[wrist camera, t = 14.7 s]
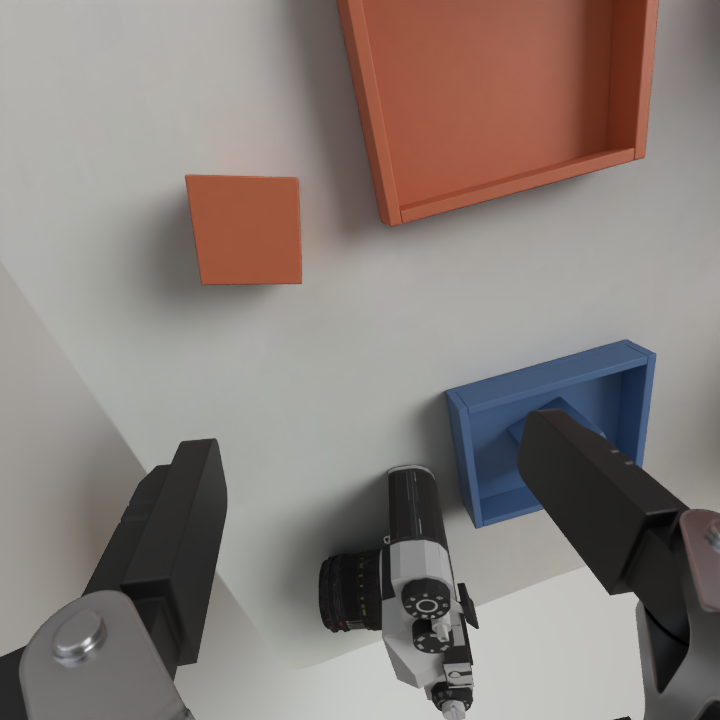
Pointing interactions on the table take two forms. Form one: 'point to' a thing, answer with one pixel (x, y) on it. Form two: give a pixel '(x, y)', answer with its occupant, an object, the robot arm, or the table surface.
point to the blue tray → (531, 392)
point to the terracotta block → (246, 229)
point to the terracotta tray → (495, 94)
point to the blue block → (558, 403)
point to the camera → (408, 595)
